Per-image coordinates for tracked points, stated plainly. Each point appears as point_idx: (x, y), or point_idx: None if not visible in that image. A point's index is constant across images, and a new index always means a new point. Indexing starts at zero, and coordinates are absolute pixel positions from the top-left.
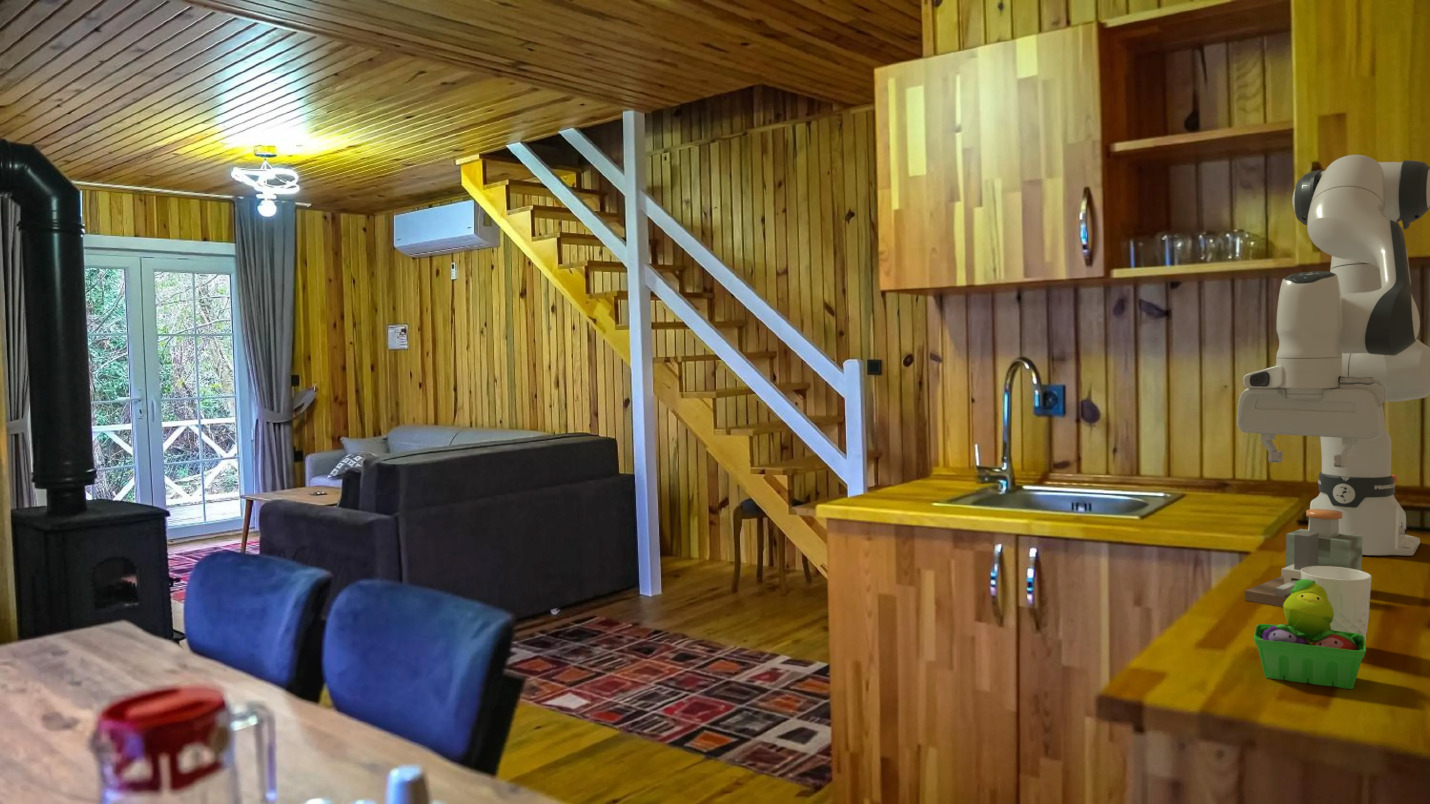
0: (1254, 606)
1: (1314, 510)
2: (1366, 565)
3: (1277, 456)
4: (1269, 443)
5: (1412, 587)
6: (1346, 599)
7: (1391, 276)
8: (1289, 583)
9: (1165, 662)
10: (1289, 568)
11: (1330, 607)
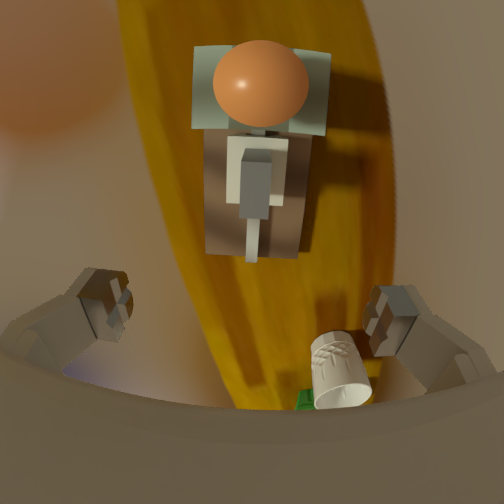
0: (229, 266)
1: (232, 79)
2: None
3: (122, 325)
4: (60, 352)
5: (362, 22)
6: (349, 393)
7: None
8: (250, 223)
9: (248, 408)
10: (235, 192)
11: None
